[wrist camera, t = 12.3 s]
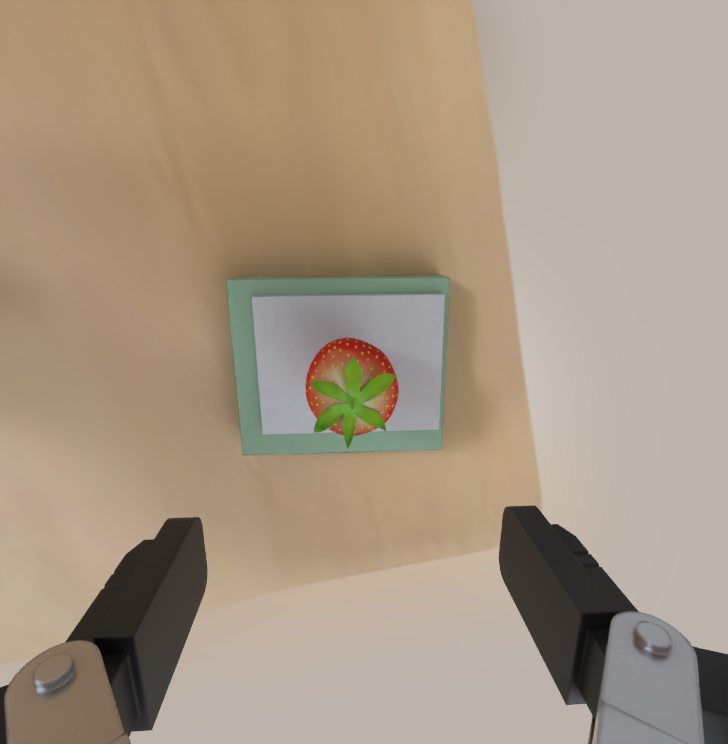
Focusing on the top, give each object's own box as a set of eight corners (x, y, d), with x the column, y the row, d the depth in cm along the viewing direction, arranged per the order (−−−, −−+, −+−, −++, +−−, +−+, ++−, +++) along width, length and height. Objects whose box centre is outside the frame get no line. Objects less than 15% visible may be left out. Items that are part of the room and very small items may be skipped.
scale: (250, 443, 32) (240, 463, 29) (235, 277, 29) (223, 280, 26) (434, 438, 33) (443, 456, 30) (441, 274, 30) (452, 277, 27)
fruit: (403, 382, 28) (426, 432, 21) (334, 417, 29) (331, 479, 21) (365, 310, 27) (375, 335, 19) (293, 348, 27) (274, 388, 20)
